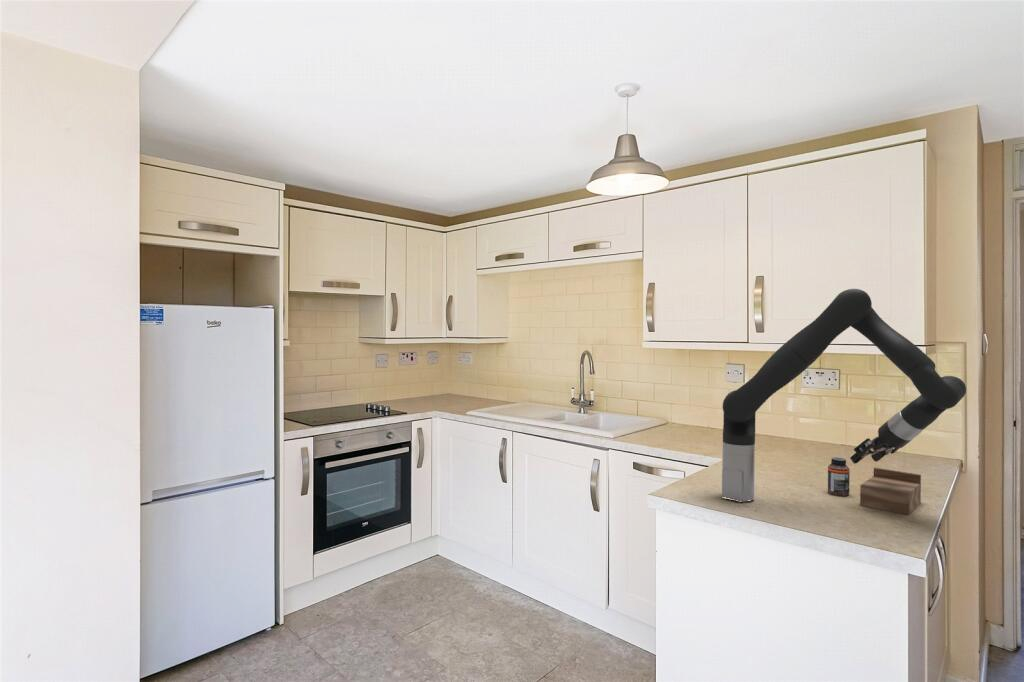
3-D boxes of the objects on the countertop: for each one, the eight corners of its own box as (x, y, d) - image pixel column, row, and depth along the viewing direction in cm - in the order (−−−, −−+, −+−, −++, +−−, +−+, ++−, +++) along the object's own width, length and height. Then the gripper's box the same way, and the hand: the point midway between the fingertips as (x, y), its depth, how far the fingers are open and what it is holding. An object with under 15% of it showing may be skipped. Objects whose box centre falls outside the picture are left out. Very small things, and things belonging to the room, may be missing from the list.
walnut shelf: (908, 514, 156) (909, 484, 156) (860, 505, 164) (860, 476, 164) (920, 502, 167) (921, 474, 167) (874, 494, 175) (874, 467, 175)
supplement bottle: (829, 490, 180) (829, 455, 180) (850, 493, 176) (851, 458, 176) (825, 494, 175) (826, 458, 175) (847, 497, 171) (848, 461, 171)
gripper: (910, 416, 161) (872, 448, 172) (874, 419, 157) (837, 451, 168) (928, 438, 156) (888, 469, 167) (892, 441, 152) (853, 472, 163)
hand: (863, 459), depth 167 cm, fingers open, 8 cm apart
